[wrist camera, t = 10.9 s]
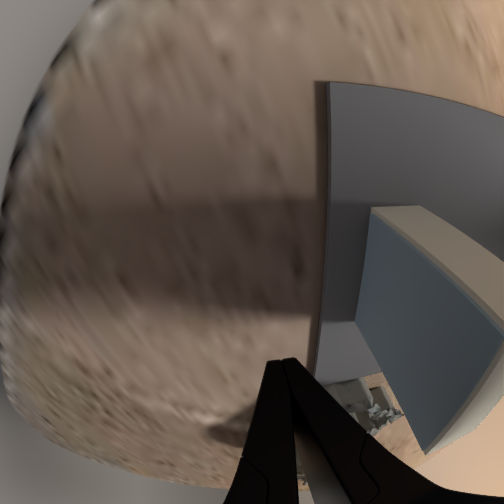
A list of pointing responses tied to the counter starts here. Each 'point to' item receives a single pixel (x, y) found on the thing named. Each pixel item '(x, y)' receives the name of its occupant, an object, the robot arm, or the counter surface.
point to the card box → (433, 321)
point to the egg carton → (360, 408)
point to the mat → (398, 194)
